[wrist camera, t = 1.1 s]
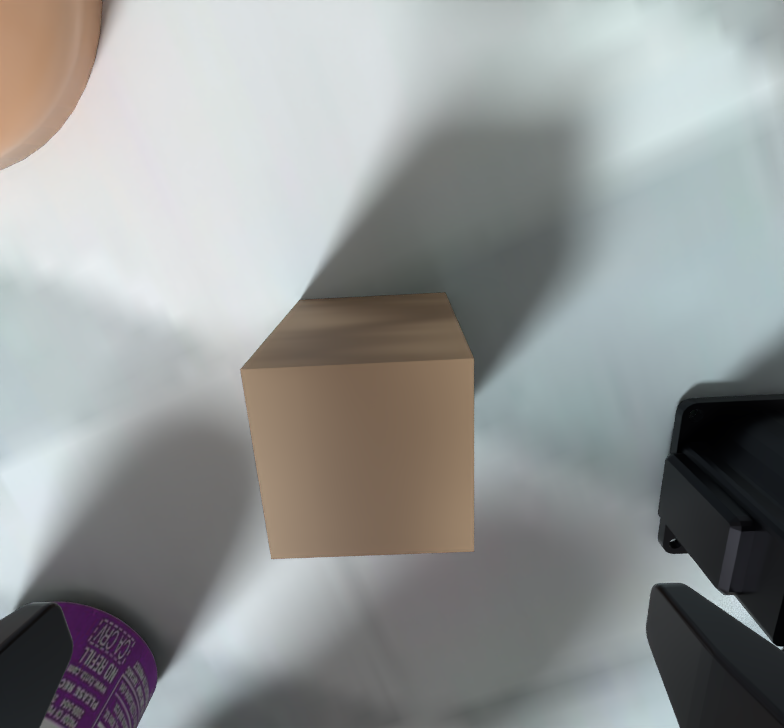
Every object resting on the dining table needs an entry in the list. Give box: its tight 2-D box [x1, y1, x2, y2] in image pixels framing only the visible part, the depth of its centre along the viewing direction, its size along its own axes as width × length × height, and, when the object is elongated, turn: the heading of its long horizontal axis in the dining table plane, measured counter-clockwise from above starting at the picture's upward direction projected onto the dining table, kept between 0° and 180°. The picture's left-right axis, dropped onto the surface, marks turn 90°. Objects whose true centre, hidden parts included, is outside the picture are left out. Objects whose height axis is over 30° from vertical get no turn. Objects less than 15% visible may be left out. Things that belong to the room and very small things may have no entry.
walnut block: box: [240, 292, 474, 559], centre depth 15 cm, size 5×5×7 cm
